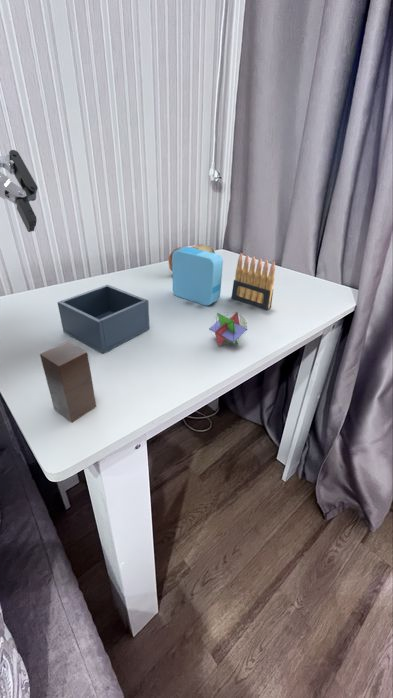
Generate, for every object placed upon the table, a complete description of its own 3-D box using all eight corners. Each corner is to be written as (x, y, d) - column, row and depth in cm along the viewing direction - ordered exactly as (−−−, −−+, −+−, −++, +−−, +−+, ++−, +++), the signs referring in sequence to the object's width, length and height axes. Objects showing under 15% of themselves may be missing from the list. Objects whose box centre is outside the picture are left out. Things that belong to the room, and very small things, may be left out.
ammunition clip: (271, 308, 82) (279, 260, 76) (267, 310, 81) (275, 262, 75) (234, 296, 88) (239, 251, 81) (231, 298, 87) (235, 252, 80)
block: (53, 409, 50) (39, 353, 44) (78, 394, 53) (68, 340, 47) (71, 422, 48) (58, 366, 42) (96, 406, 51) (87, 352, 45)
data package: (220, 301, 85) (224, 255, 78) (210, 307, 81) (213, 259, 75) (182, 289, 90) (183, 245, 84) (172, 294, 87) (172, 249, 80)
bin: (102, 354, 63) (98, 322, 59) (63, 332, 69) (57, 302, 65) (149, 329, 71) (148, 300, 68) (110, 311, 77) (107, 284, 74)
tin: (171, 279, 97) (171, 250, 92) (167, 275, 99) (166, 247, 94) (215, 272, 103) (217, 244, 98) (210, 268, 105) (211, 241, 101)
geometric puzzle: (222, 349, 61) (242, 311, 61) (196, 335, 66) (215, 299, 65) (239, 357, 67) (258, 322, 67) (215, 343, 71) (232, 310, 71)
